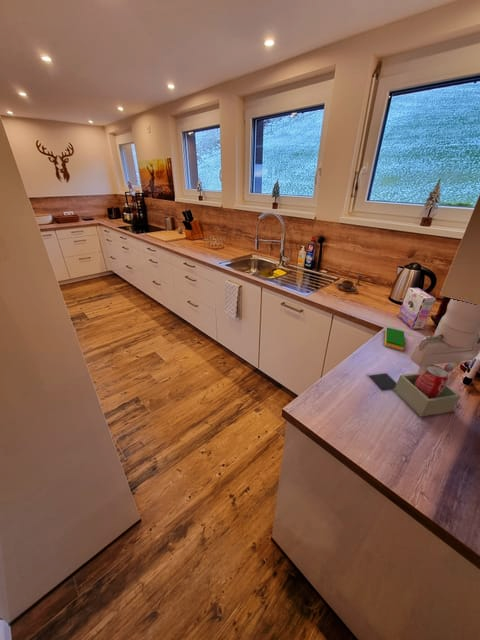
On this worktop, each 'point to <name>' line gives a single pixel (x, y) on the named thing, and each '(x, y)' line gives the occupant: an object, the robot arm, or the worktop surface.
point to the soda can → (432, 381)
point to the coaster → (383, 381)
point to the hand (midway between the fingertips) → (434, 372)
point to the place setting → (348, 285)
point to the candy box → (416, 308)
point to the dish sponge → (394, 338)
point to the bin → (420, 401)
